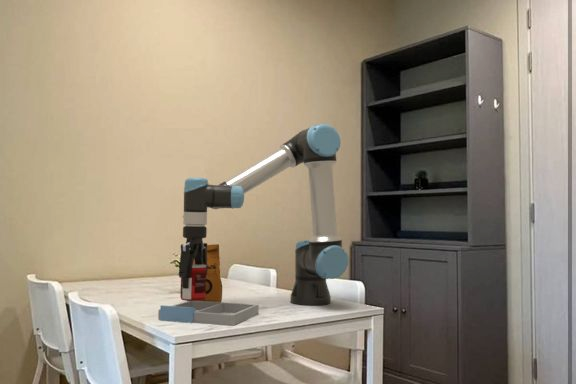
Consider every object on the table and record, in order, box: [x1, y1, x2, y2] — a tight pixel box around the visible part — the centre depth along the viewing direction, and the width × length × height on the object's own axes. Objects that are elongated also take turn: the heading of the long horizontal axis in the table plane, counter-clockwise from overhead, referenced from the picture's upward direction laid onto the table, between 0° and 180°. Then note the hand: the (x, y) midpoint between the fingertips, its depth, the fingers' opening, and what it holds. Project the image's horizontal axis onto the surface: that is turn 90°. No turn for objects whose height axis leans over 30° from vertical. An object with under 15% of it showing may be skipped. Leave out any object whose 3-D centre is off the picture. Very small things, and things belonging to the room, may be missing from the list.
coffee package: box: [193, 243, 223, 302], centre depth 186 cm, size 10×12×22 cm
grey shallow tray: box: [157, 301, 259, 327], centre depth 164 cm, size 25×21×4 cm
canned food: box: [180, 264, 206, 302], centre depth 167 cm, size 8×8×11 cm
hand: (193, 297), depth 167 cm, fingers closed on canned food, 8 cm apart
